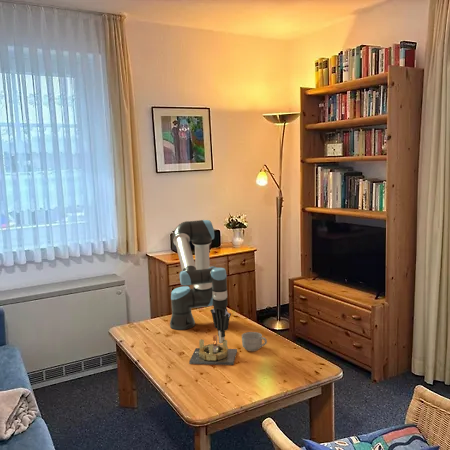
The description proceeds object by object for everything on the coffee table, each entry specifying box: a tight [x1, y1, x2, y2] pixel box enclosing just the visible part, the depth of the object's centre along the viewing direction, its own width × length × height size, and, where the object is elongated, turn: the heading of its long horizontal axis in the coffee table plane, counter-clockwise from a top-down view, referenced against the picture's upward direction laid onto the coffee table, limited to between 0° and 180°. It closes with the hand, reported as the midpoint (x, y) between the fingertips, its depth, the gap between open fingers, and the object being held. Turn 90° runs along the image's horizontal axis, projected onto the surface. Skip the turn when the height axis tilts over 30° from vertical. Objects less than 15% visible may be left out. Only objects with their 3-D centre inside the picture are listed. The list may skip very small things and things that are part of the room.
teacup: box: [241, 331, 268, 352], centre depth 251 cm, size 14×11×8 cm
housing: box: [188, 346, 238, 366], centre depth 244 cm, size 16×22×6 cm
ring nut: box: [198, 334, 229, 361], centre depth 243 cm, size 14×14×8 cm
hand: (221, 342), depth 247 cm, fingers closed
